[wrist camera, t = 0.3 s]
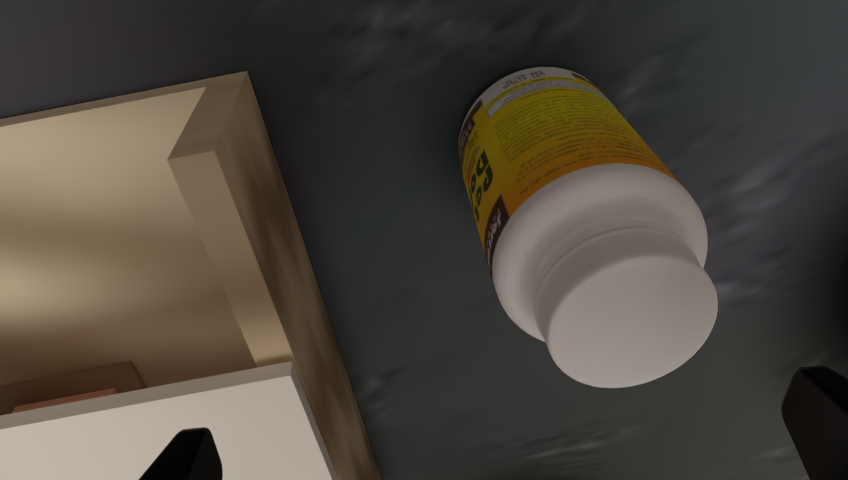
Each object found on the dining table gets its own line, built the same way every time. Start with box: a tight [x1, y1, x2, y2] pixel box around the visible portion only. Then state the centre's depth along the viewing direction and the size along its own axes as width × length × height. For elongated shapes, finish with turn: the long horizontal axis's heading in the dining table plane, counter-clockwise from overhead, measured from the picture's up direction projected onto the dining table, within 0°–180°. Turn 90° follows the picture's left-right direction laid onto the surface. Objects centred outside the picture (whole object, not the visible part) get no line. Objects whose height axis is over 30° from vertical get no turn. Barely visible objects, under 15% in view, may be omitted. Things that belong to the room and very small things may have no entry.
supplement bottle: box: [458, 67, 718, 388], centre depth 19 cm, size 6×6×10 cm
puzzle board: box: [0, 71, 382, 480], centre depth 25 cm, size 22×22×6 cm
